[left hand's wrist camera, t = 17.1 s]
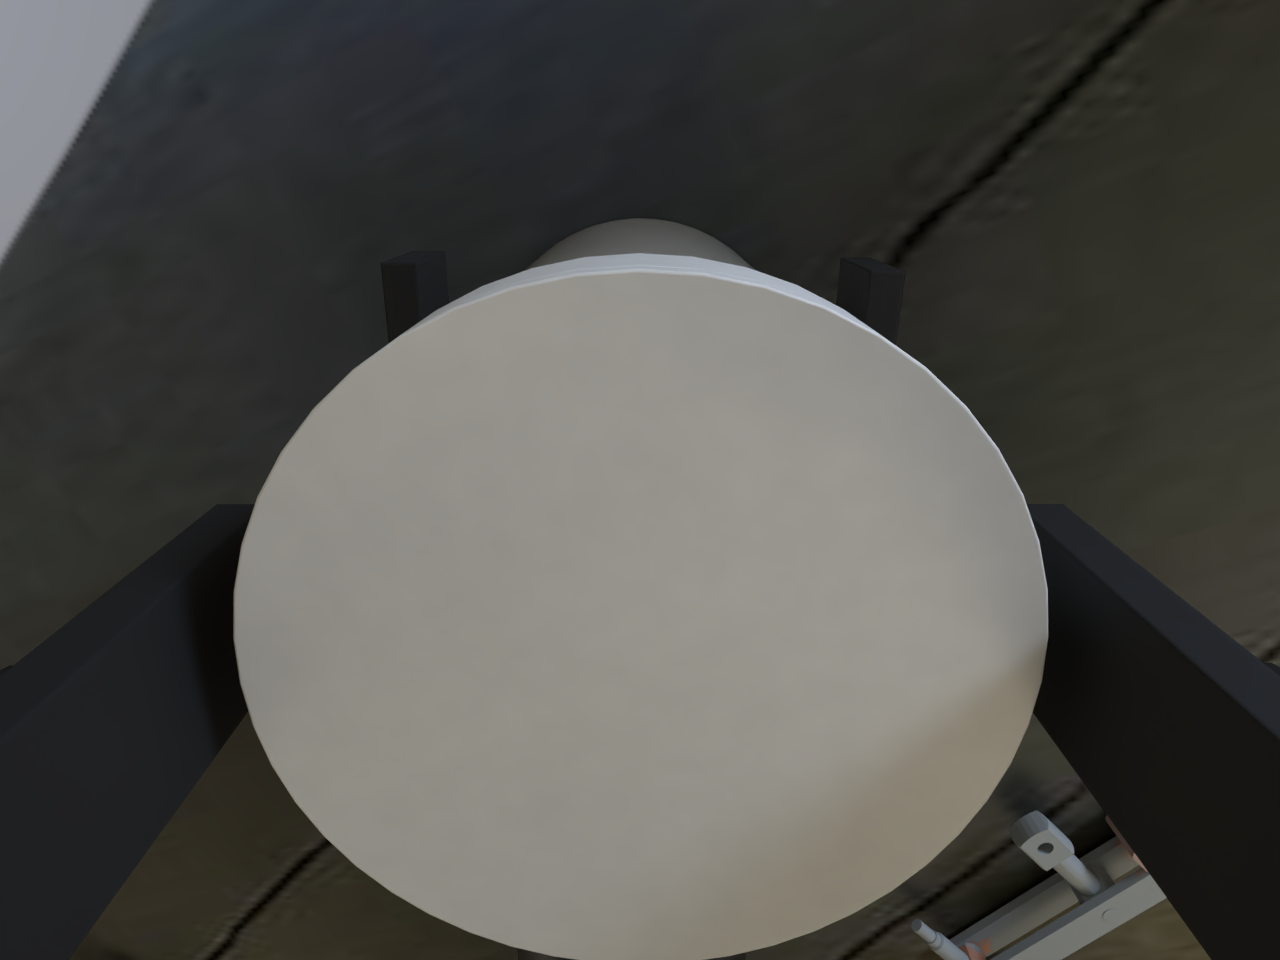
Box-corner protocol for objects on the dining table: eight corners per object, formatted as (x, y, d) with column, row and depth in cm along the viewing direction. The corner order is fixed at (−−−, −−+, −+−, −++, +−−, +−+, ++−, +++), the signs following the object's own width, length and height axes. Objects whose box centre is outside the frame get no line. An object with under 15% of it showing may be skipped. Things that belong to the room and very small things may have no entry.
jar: (508, 513, 28) (352, 917, 13) (476, 224, 24) (209, 314, 9) (784, 503, 28) (954, 899, 13) (793, 211, 24) (1045, 281, 9)
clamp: (1134, 788, 29) (1268, 925, 32) (1102, 748, 31) (1230, 879, 34) (825, 985, 33) (966, 1092, 36) (814, 938, 35) (948, 1042, 38)
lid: (1131, 611, 12) (1209, 681, 10) (641, 959, 15) (642, 1057, 13) (638, 58, 9) (637, 35, 8) (149, 614, 12) (71, 684, 10)
